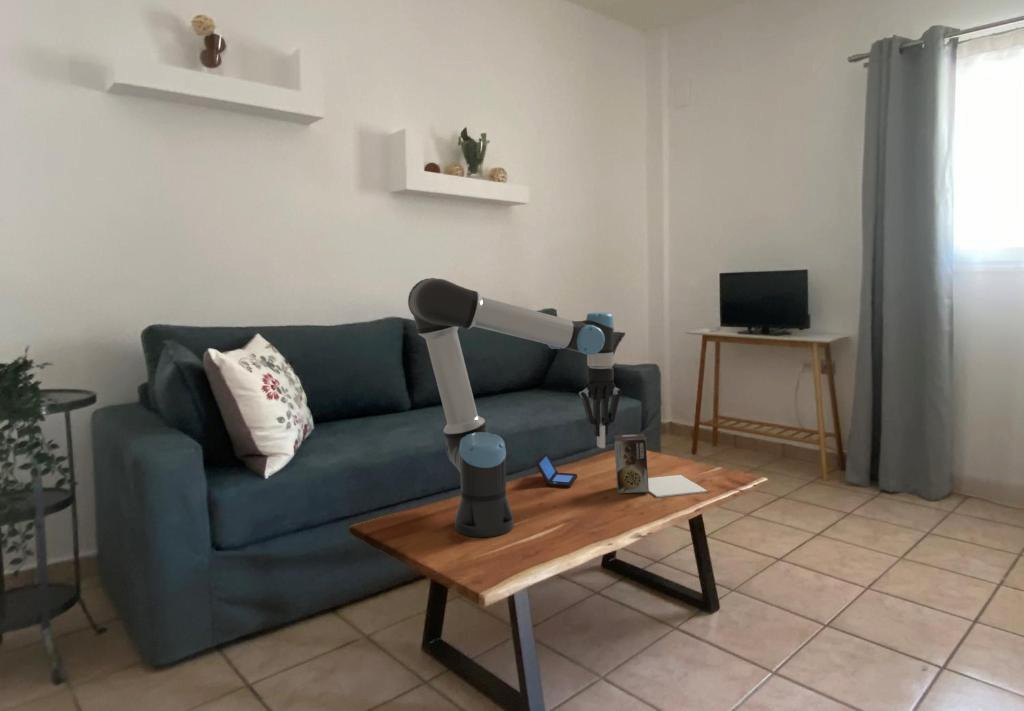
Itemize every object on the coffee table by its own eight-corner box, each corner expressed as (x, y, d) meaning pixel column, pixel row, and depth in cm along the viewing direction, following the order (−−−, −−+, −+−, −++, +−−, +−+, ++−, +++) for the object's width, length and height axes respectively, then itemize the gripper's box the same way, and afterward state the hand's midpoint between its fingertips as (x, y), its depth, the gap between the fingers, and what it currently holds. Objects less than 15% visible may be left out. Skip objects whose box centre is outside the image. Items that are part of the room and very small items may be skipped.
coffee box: (646, 485, 201) (644, 433, 199) (649, 492, 195) (646, 438, 193) (616, 486, 202) (613, 434, 200) (617, 493, 196) (614, 440, 194)
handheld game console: (570, 489, 201) (569, 465, 200) (535, 486, 204) (535, 463, 204) (578, 477, 213) (578, 454, 212) (545, 474, 216) (545, 452, 215)
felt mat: (656, 497, 192) (656, 495, 192) (633, 481, 207) (633, 479, 207) (707, 492, 196) (707, 490, 195) (680, 476, 211) (680, 474, 211)
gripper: (616, 363, 197) (616, 441, 200) (574, 366, 193) (575, 445, 196) (626, 367, 189) (627, 448, 192) (583, 369, 186) (584, 452, 189)
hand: (601, 446), depth 194 cm, fingers closed
